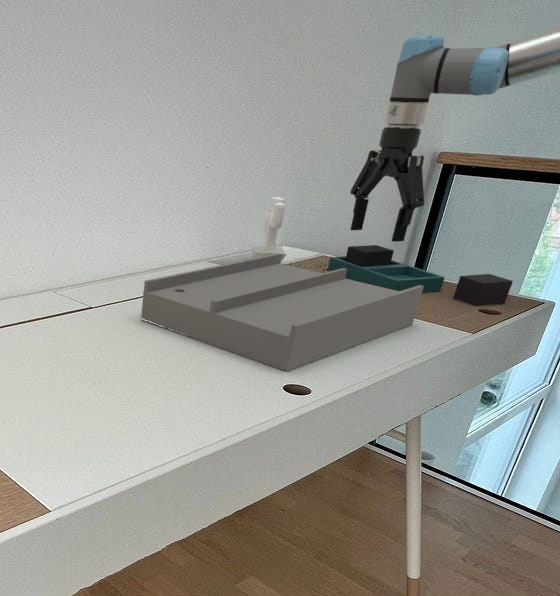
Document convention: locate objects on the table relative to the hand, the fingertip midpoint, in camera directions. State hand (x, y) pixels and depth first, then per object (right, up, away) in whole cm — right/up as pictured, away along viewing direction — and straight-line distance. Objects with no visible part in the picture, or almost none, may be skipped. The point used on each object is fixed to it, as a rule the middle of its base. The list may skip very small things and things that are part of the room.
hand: (376, 235), depth 152 cm
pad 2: (+16, -19, -11) cm, 27 cm away
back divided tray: (+1, -10, 0) cm, 10 cm away
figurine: (-23, -4, +9) cm, 25 cm away
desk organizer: (-31, -28, -29) cm, 51 cm away
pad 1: (-1, -6, +4) cm, 7 cm away
